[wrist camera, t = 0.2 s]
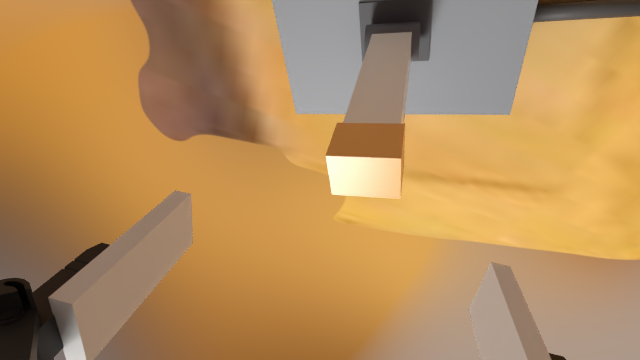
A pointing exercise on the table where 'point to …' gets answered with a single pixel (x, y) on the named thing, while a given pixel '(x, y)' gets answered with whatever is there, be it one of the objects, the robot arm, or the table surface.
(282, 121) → the table surface
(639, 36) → the table surface
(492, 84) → the grey power plug
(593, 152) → the table surface
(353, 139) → the breaker lever
